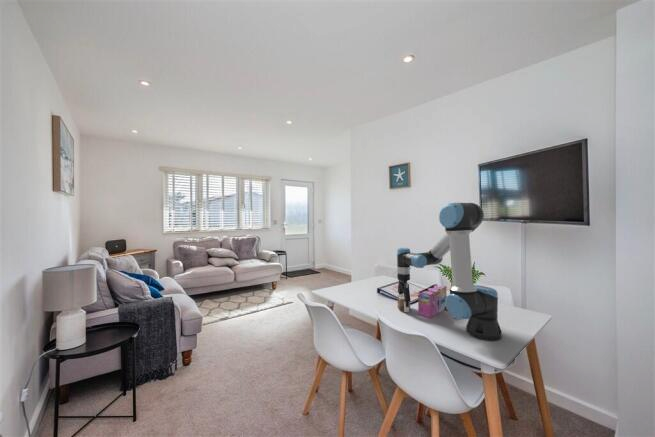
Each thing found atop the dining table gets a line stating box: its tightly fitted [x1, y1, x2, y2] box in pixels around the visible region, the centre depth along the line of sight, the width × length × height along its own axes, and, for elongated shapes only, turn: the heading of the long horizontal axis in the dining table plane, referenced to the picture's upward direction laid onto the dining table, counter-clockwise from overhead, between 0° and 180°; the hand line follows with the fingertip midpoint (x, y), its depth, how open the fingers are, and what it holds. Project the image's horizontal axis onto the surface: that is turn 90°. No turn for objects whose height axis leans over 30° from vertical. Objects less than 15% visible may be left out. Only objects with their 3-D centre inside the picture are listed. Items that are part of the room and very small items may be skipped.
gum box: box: [417, 284, 448, 319], centre depth 162 cm, size 24×8×14 cm, turn 134°
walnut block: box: [397, 294, 411, 312], centre depth 165 cm, size 6×6×8 cm
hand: (403, 307), depth 165 cm, fingers open, 12 cm apart
